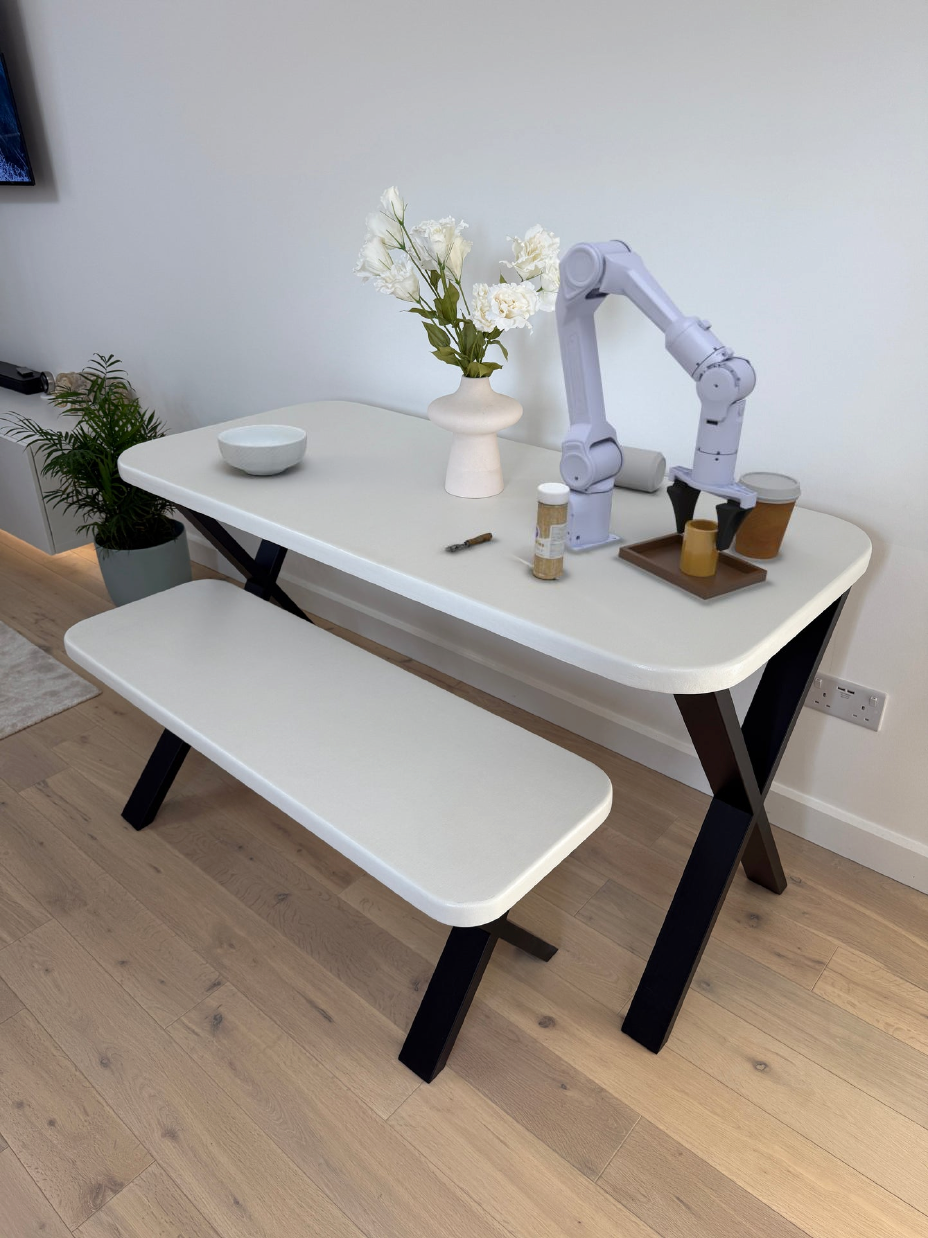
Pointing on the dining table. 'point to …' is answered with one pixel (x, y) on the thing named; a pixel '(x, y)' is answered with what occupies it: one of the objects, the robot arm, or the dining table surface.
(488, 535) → the can opener
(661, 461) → the can
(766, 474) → the disposable coffee cup
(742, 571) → the tray
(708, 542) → the cup
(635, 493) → the dining table surface
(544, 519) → the sprinkles bottle
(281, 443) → the cereal bowl
